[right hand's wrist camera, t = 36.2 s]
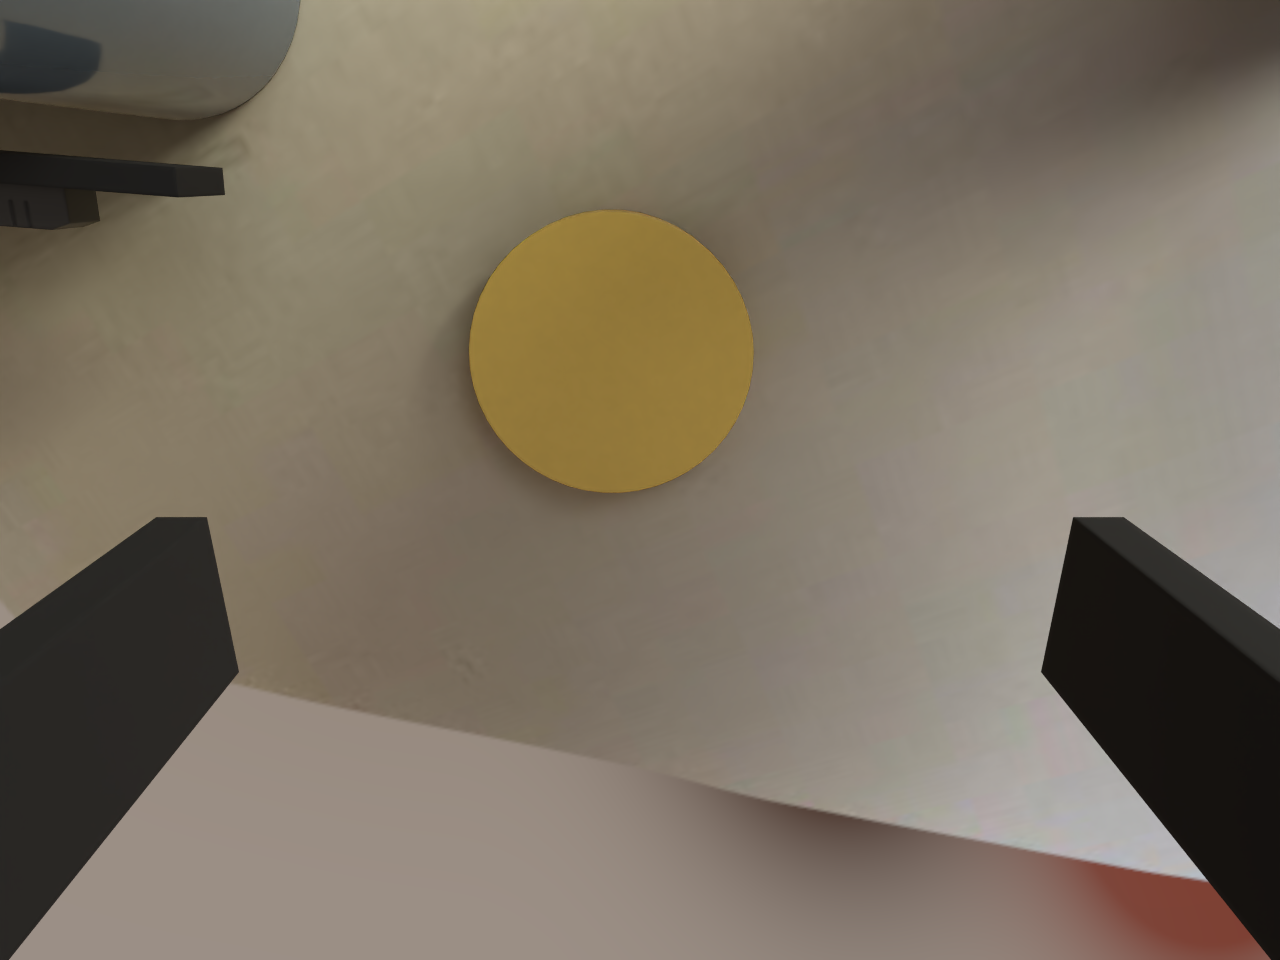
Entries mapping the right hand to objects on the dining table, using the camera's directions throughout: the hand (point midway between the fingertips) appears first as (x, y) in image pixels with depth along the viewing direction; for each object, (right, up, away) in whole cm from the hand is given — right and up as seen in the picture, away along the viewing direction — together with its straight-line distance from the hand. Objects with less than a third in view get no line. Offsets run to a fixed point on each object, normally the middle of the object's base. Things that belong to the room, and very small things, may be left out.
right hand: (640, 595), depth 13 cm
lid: (-1, +6, +17) cm, 18 cm away
